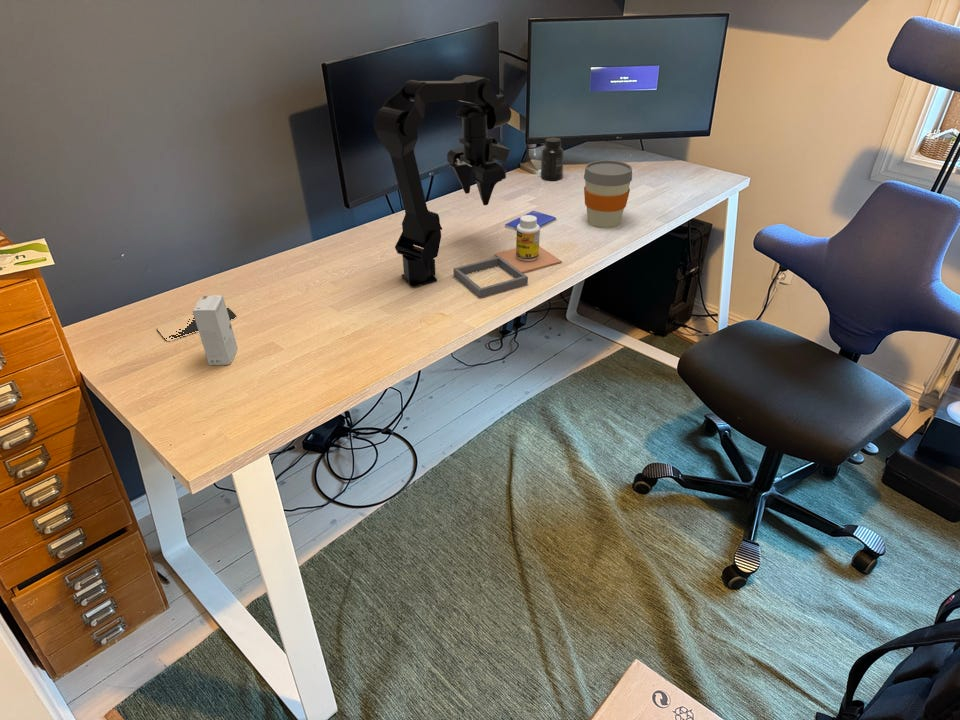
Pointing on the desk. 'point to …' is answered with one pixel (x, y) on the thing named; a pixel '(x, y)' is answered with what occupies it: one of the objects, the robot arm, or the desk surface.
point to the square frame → (496, 288)
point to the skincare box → (215, 330)
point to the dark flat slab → (193, 325)
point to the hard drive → (541, 220)
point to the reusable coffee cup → (606, 192)
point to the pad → (527, 266)
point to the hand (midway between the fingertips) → (476, 199)
